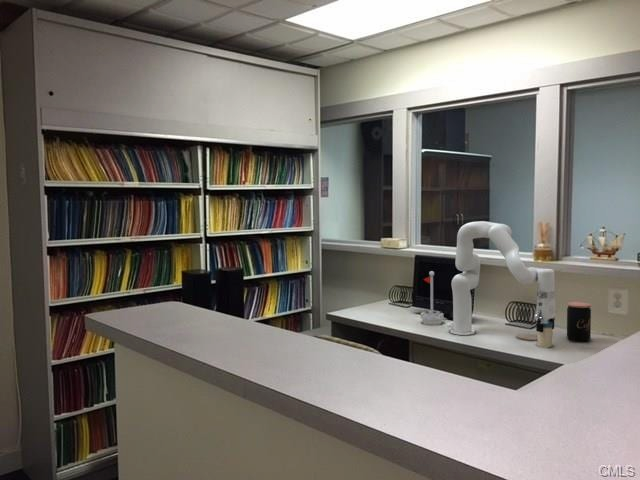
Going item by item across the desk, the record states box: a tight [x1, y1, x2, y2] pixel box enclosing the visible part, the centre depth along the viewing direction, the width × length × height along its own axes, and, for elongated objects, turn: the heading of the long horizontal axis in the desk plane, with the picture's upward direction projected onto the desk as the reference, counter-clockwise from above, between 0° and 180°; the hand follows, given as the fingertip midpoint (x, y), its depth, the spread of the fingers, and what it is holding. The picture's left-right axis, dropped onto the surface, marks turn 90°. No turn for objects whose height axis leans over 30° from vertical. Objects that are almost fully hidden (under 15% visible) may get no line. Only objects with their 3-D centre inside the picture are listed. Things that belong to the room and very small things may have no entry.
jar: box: [536, 327, 553, 348], centre depth 257 cm, size 7×7×11 cm
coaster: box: [516, 333, 537, 342], centre depth 272 cm, size 11×11×1 cm
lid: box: [542, 320, 553, 328], centre depth 257 cm, size 7×7×2 cm
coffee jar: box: [566, 301, 592, 343], centre depth 266 cm, size 11×11×18 cm
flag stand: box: [420, 270, 445, 326], centre depth 309 cm, size 13×13×30 cm
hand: (545, 330), depth 257 cm, fingers open, 9 cm apart
